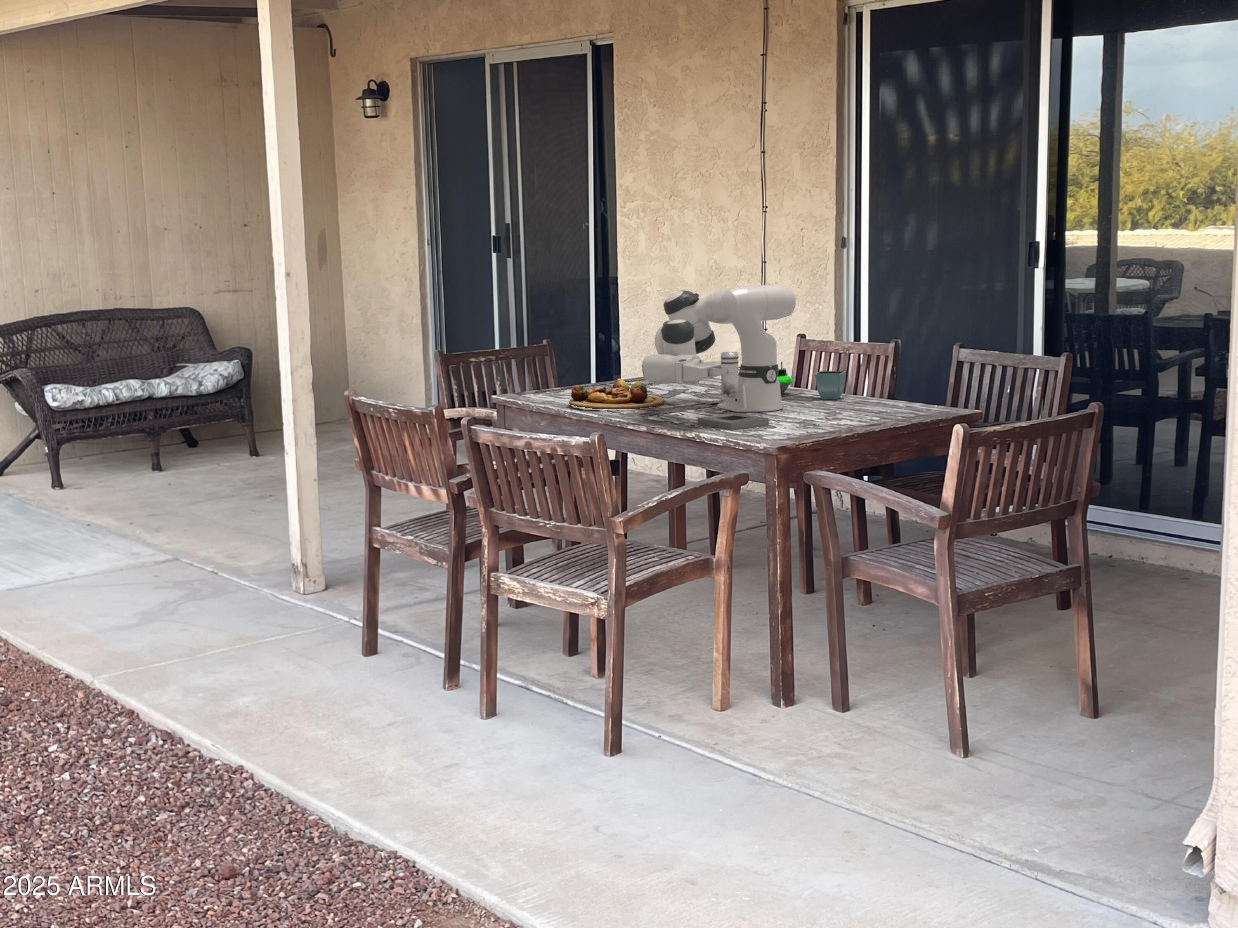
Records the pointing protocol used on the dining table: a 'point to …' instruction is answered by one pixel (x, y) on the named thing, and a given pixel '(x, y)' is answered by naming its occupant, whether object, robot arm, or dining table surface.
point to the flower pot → (830, 384)
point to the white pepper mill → (729, 373)
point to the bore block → (733, 421)
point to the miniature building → (783, 379)
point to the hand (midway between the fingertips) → (732, 370)
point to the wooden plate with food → (615, 397)
